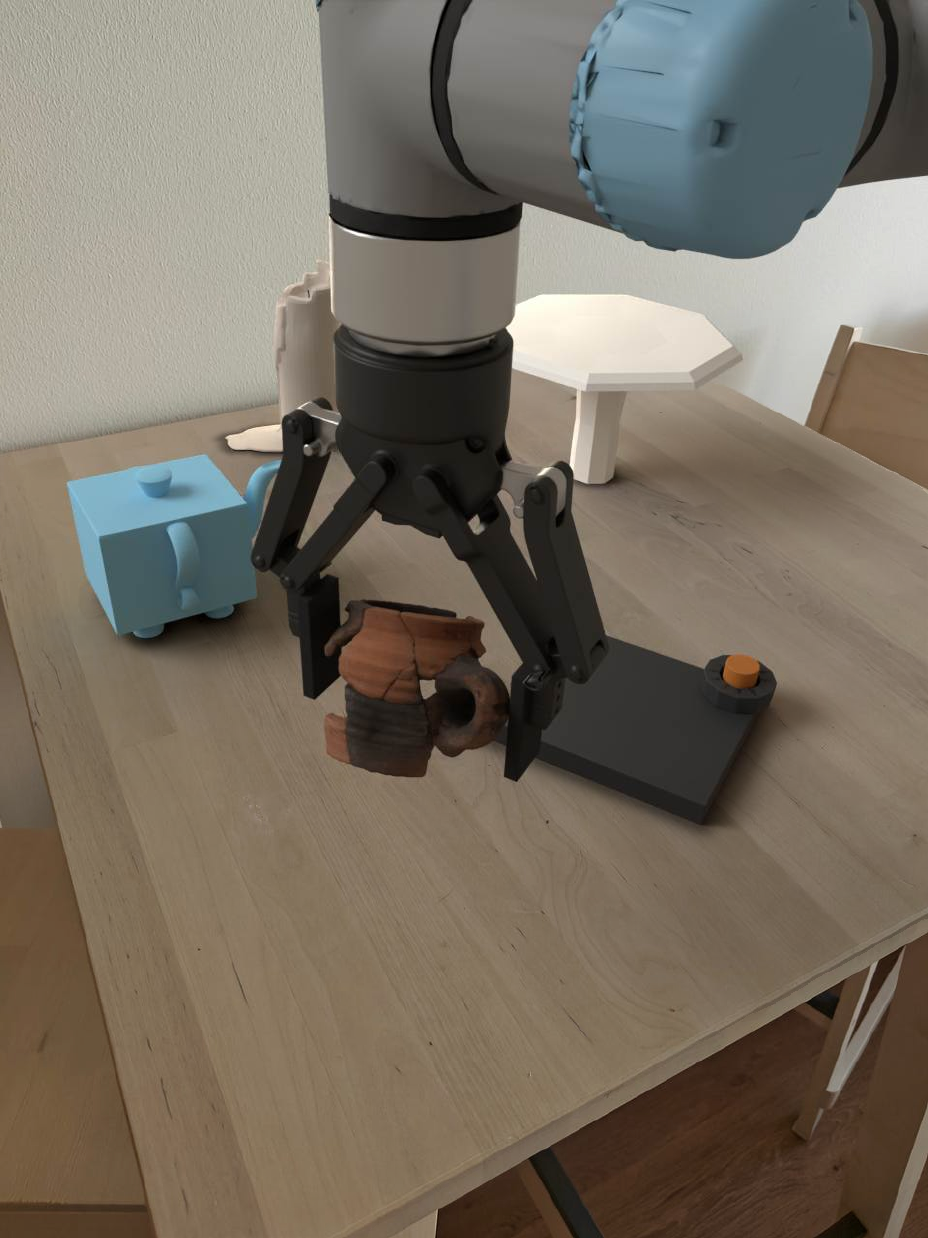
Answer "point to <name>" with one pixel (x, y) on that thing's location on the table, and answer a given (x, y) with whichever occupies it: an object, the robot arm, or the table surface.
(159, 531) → the teapot
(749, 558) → the table surface
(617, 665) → the scale
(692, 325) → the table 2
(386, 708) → the pottery mug
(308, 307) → the candle
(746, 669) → the scale button
